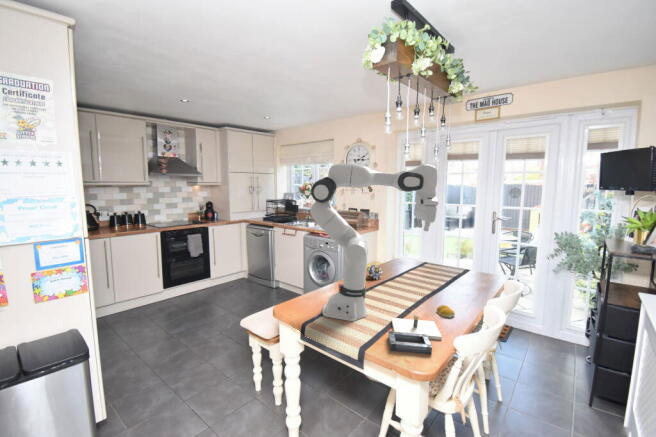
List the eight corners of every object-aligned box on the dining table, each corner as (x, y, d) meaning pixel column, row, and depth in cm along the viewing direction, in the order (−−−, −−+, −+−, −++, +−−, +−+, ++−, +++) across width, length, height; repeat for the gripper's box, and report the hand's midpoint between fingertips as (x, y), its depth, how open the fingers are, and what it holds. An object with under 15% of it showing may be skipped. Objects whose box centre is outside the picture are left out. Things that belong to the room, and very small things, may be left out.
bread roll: (443, 318, 151) (444, 311, 150) (434, 310, 160) (434, 303, 159) (458, 318, 152) (459, 310, 152) (448, 310, 161) (448, 303, 161)
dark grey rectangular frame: (390, 350, 121) (391, 343, 120) (388, 337, 131) (388, 331, 130) (431, 354, 119) (432, 347, 119) (425, 340, 129) (426, 334, 129)
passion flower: (376, 287, 205) (372, 276, 198) (365, 279, 213) (360, 268, 206) (387, 276, 209) (383, 265, 202) (375, 269, 217) (372, 258, 210)
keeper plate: (394, 335, 132) (395, 320, 131) (391, 320, 146) (392, 306, 145) (441, 339, 130) (443, 324, 129) (433, 324, 144) (434, 310, 143)
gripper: (412, 197, 150) (410, 225, 152) (425, 201, 130) (422, 232, 132) (425, 198, 150) (422, 225, 152) (439, 202, 130) (436, 233, 132)
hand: (422, 229), depth 142 cm, fingers open, 8 cm apart
